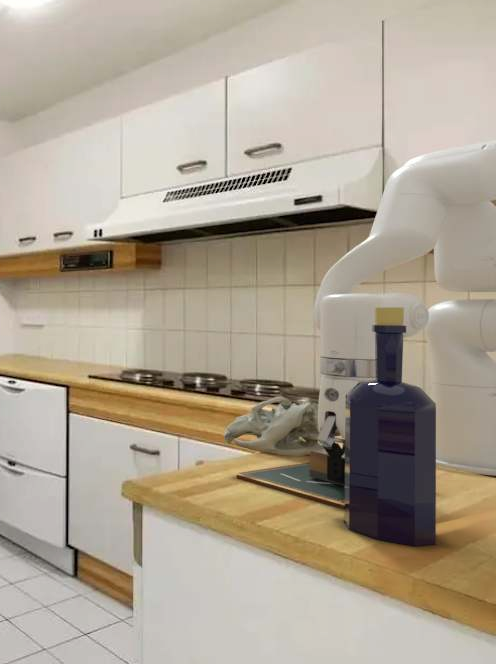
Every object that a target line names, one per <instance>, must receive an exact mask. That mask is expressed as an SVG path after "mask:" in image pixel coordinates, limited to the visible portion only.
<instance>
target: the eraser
mask: <svg viewBox="0 0 496 664" xmlns="http://www.w3.org/2000/svg"><path fill="white" fill-rule="evenodd" d="M309 462H310V477H312V478H316V479H320V480H324V481H327V482H331V483H335V484H338V485H342V486H345V484H342V483H338V482H334V481H330V480H328V479H327V456H326V455H325V449H321V450H311V451H310V455H309Z"/></svg>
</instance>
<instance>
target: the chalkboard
mask: <svg viewBox="0 0 496 664" xmlns="http://www.w3.org/2000/svg"><path fill="white" fill-rule="evenodd" d="M239 474H240V475H239ZM249 477H250V478H249ZM236 479H237V480H241V481H244V482H247V483H250V484H255V485H257V486H261V487H264V488H268V489H271V490H274V491H277V492H282V493H284V494H288V495H292V496H295V497H299V498H302V499H305V500H308V501H312V502H316V503H319V504H323V505H326V506H330V507H332V508H336V509H341V510H343V511H345V486H342V485H338V484H335V483H331V482H327V481H324V480H320V479H316V478H312V477H310V461H308V462H303V463H296V464H290V465H283V466H282V465H281V466H276V467H269V468H263V469H256V470H249V471H242V472H238V474H236ZM256 479H257V480H256ZM267 482H268V483H267ZM288 488H289V489H288ZM291 489H292V490H291ZM303 492H304V493H303ZM306 493H307V494H306ZM309 494H310V495H309ZM313 495H314V496H313ZM316 496H317V497H316ZM320 497H321V498H320ZM323 498H325V499H323ZM331 500H332V501H331ZM337 502H338V503H337ZM341 503H342V504H341Z"/></svg>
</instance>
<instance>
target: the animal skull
mask: <svg viewBox="0 0 496 664" xmlns="http://www.w3.org/2000/svg"><path fill="white" fill-rule="evenodd" d="M278 402H280V403H278ZM297 402H298V404H299V405H298V404H297V403H292V401H291V400H289V399H288V398H286V397H282V396H276V397H273V398H271V399H268V400H264V401H260V403H257V404H255V405H253V406H251V407H250V409H251V412H249V413H247V414H242V415H240V416H237V417H235V418H234V419H233V421H232V422H231V423H229V424H228V425H227V426H226V428H225V429H224V431H223V439H224V440H225V441H226V443H227V444H228V445H231V444H232V441H233V442H234V444H235V445H236V446H239V447H240V448H244V449H248V450H250V451H255V452H258V453H259V452H260V453H265V452H266V453H265V454H271V455H282V456H293V457H294V456H298V457H305V456H310V451H311V450H321V449H324V447H323V445H322V444H321V443H320V442H319V441H318V436H319V434H320V433H319V430H318V403H314V402H313V403H312V404H311V402H310V401H307V400H305V401H304V400H298V401H297ZM273 403H278V405H277V406H276V407H272V408H271V410H270V409H269V410H268V409H264V407H266V406H269V405H270V404H273ZM247 435H248V436H249V435H250V436H255V437H256V438H257V439H252V440H248V441H245V440H242V439H238V438H239V437H242V436H247ZM302 439H303V440H302Z"/></svg>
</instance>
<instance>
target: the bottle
mask: <svg viewBox="0 0 496 664" xmlns="http://www.w3.org/2000/svg"><path fill="white" fill-rule="evenodd" d="M403 321H404V308H400V307H385V308H375V325H372V332H375V365H376V380H372V381H365V382H359V383H358V384H357V385H356V386H355V387H354V388H352V389H351V390H350V391H349V392H348V393H347V394H346V410H345V438H344V439H345V500H344V501H345V503H344V505H345V510H344V520H343V523H344V526H345V527H346V528H347V530H350V531H351V532H352V531H353V532H354V533H358V534H360V535H363V536H366V537H369V538H371V539H374V540H377V541H383V542H388V543H393V544H400V545H405V546H410V547H411V546H412V547H424V546H435V545H438V543H437V539H436V538H437V466H436V403H435V402H434V401H433V400H432V399H431V396H429V395H428V393H426V391H424V390H423V388H421V387H419V386H417V385H414V384H411V383H407V382H404V381H403V359H404V358H403V357H404V356H403V355H404V338H403V333H406V326H404V325H403Z"/></svg>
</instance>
